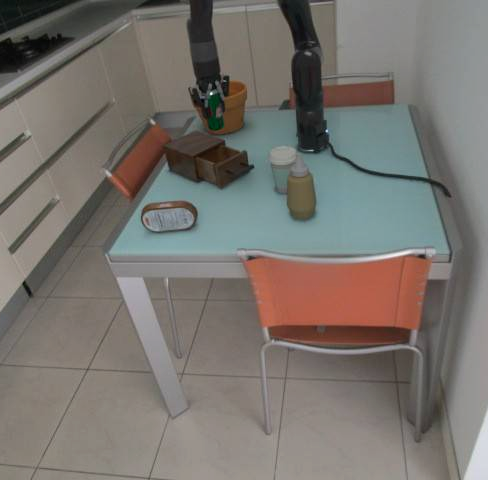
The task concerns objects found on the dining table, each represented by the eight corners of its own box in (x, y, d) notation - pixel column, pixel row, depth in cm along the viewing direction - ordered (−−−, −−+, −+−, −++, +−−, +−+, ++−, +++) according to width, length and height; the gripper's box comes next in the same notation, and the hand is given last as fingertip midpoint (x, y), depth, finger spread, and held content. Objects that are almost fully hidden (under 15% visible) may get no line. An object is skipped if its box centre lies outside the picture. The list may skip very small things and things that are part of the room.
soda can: (222, 131, 139) (215, 91, 132) (206, 131, 140) (198, 91, 133) (227, 124, 143) (220, 85, 136) (211, 124, 144) (204, 85, 137)
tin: (200, 223, 128) (194, 197, 123) (199, 230, 125) (193, 203, 120) (146, 228, 128) (138, 202, 123) (144, 235, 126) (135, 209, 121)
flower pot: (188, 138, 176) (180, 99, 167) (209, 116, 192) (202, 80, 183) (241, 139, 170) (235, 100, 161) (257, 117, 186) (253, 79, 177)
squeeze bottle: (297, 226, 123) (292, 164, 112) (282, 212, 128) (276, 153, 118) (323, 216, 125) (321, 155, 114) (307, 203, 131) (304, 144, 120)
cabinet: (229, 165, 154) (225, 139, 149) (197, 182, 147) (192, 156, 141) (200, 154, 163) (195, 130, 157) (169, 170, 155) (163, 145, 150)
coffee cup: (303, 182, 141) (301, 146, 134) (295, 197, 134) (292, 159, 127) (276, 180, 143) (273, 144, 136) (267, 194, 137) (263, 157, 130)
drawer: (262, 176, 144) (259, 155, 140) (233, 194, 137) (229, 172, 133) (221, 161, 155) (217, 140, 151) (192, 176, 148) (187, 155, 144)
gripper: (193, 65, 123) (204, 126, 133) (232, 51, 131) (240, 110, 141) (176, 62, 127) (188, 121, 137) (215, 48, 135) (224, 105, 145)
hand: (214, 115), depth 139 cm, fingers closed on soda can, 5 cm apart
